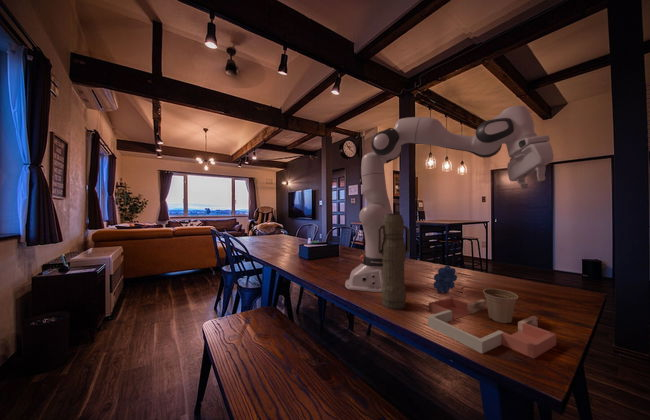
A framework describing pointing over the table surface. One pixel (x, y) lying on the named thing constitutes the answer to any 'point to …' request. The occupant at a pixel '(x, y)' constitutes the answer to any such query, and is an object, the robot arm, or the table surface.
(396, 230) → the thermos
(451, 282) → the grapes
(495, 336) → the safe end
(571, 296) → the table surface
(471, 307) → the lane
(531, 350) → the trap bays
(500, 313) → the flower pot
